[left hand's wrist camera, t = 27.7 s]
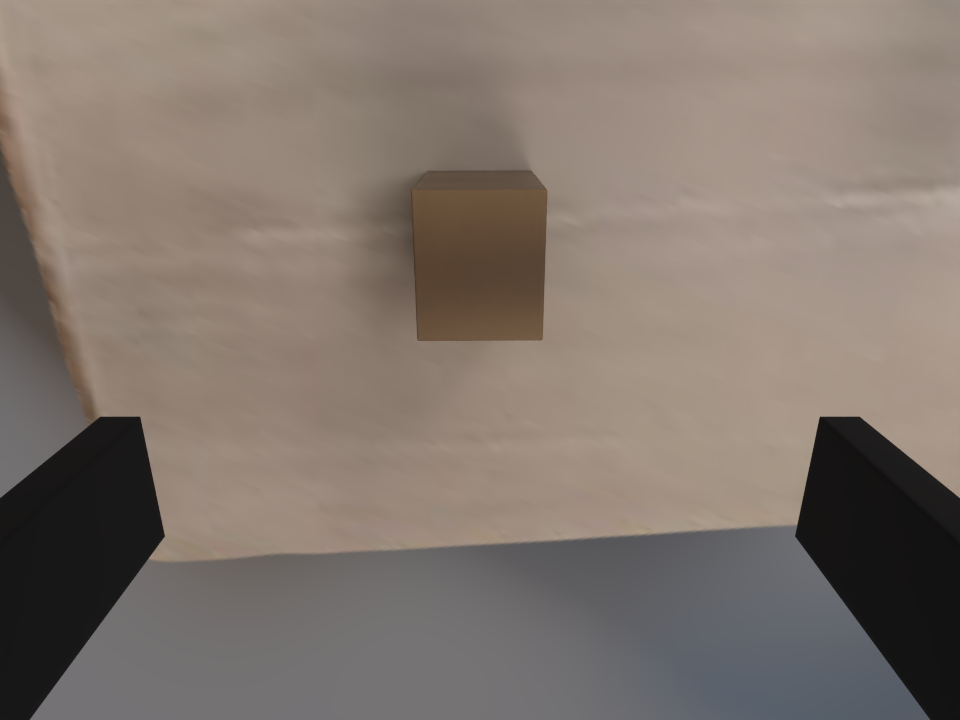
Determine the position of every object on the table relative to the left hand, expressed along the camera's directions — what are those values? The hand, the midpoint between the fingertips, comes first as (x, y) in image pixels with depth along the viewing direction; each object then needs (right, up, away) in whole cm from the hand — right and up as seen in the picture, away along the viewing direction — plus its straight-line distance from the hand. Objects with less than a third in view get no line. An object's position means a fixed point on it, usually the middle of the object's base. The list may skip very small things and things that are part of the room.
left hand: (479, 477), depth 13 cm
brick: (0, +10, +26) cm, 27 cm away
